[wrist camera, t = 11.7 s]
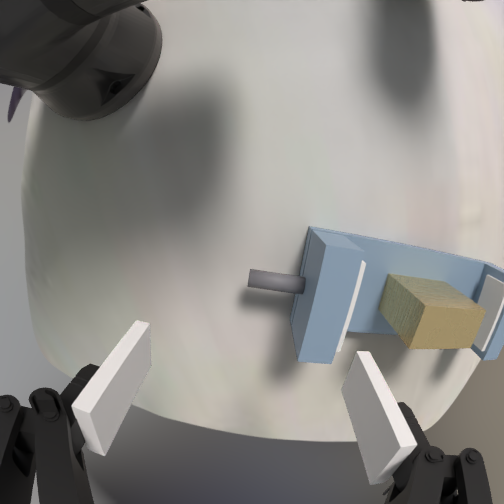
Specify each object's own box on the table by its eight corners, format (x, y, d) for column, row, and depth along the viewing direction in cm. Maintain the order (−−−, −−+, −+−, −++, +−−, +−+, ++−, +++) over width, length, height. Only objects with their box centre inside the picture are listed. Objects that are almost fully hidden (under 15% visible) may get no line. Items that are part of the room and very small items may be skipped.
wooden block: (377, 308, 28) (409, 348, 20) (388, 273, 27) (425, 305, 19) (434, 313, 28) (470, 348, 20) (445, 281, 27) (486, 310, 19)
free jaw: (242, 320, 29) (237, 353, 23) (257, 220, 26) (256, 233, 20) (325, 330, 29) (337, 364, 23) (348, 236, 26) (371, 252, 20)
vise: (289, 318, 30) (297, 359, 23) (309, 226, 28) (325, 243, 21) (467, 331, 30) (496, 359, 23) (491, 263, 28) (527, 281, 21)
